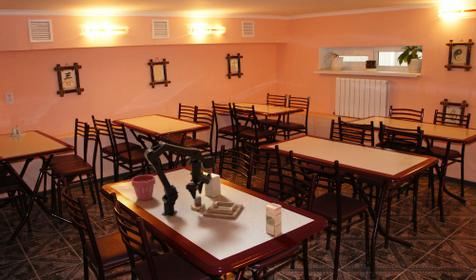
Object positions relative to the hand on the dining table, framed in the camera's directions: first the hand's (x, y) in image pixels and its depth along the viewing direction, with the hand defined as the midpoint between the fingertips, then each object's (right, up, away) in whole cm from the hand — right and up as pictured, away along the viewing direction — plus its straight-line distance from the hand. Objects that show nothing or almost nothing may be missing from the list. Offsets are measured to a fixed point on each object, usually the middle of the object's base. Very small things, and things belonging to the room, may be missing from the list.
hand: (197, 196), depth 246 cm
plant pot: (-35, -4, +21) cm, 41 cm away
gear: (0, -7, +2) cm, 7 cm away
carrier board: (+15, -8, -5) cm, 18 cm away
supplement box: (+8, -2, +23) cm, 24 cm away
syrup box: (+41, -14, -33) cm, 55 cm away
